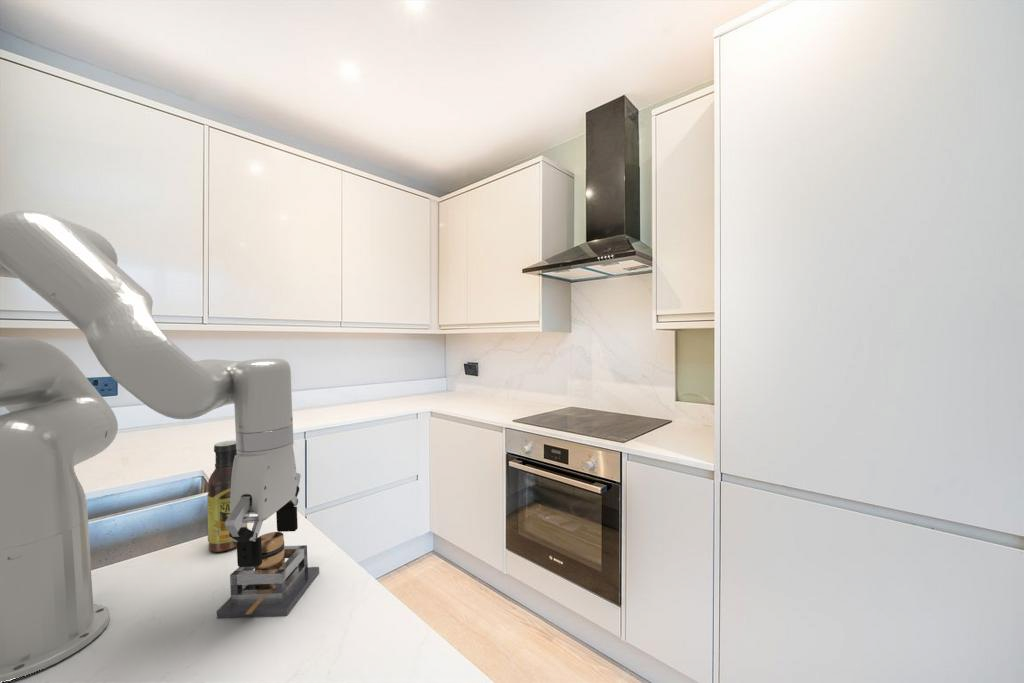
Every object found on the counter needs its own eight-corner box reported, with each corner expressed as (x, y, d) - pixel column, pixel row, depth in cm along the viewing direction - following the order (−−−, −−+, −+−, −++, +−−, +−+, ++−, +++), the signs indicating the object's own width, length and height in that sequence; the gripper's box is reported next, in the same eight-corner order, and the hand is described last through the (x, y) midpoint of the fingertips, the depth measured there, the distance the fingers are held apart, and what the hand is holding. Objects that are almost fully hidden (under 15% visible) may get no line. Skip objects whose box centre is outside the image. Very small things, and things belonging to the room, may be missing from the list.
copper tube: (249, 597, 59) (246, 546, 59) (267, 579, 64) (264, 531, 63) (275, 597, 59) (272, 546, 59) (292, 579, 63) (289, 531, 63)
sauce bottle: (222, 556, 72) (217, 450, 72) (200, 550, 74) (195, 447, 74) (256, 538, 78) (252, 440, 78) (235, 533, 81) (230, 437, 80)
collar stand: (212, 622, 56) (210, 584, 56) (259, 574, 67) (258, 542, 66) (283, 619, 56) (282, 582, 56) (319, 572, 67) (318, 541, 67)
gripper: (273, 425, 69) (277, 520, 70) (197, 457, 52) (203, 583, 53) (316, 424, 70) (320, 519, 70) (254, 456, 52) (260, 581, 53)
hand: (270, 546), depth 61 cm, fingers open, 9 cm apart
